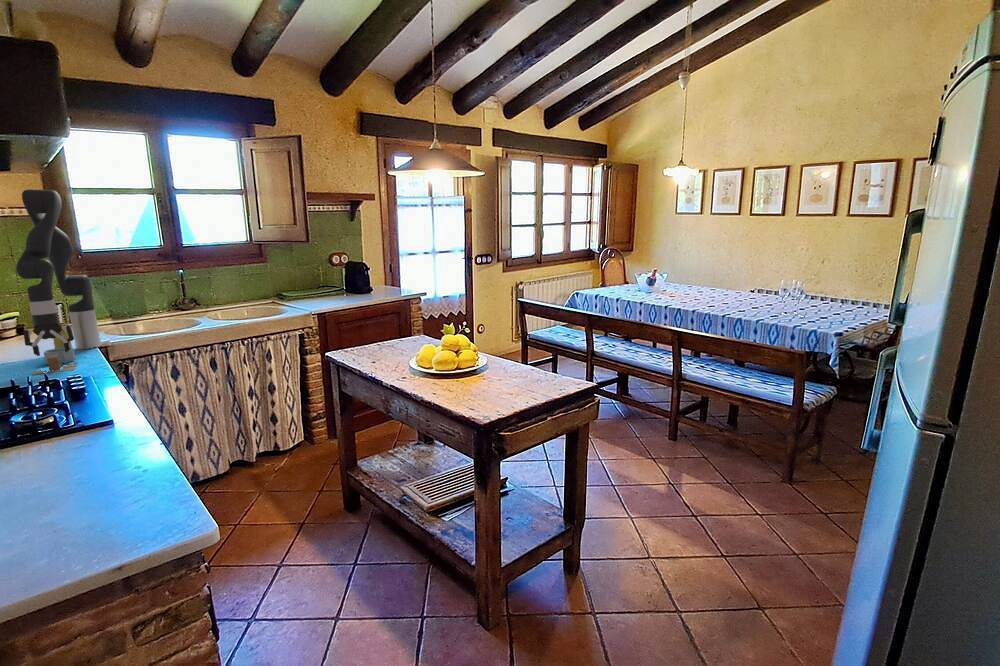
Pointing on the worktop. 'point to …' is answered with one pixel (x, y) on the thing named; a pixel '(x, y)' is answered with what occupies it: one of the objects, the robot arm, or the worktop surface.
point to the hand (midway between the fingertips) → (52, 353)
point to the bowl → (61, 354)
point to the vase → (60, 343)
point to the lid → (55, 365)
